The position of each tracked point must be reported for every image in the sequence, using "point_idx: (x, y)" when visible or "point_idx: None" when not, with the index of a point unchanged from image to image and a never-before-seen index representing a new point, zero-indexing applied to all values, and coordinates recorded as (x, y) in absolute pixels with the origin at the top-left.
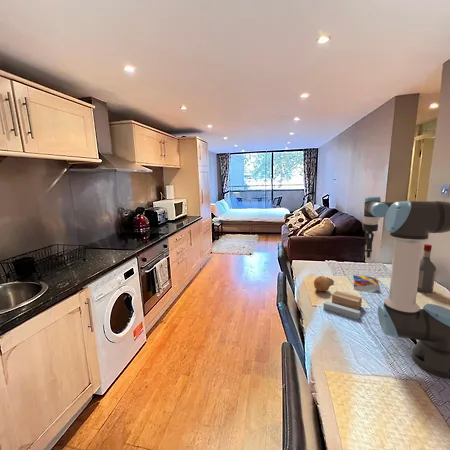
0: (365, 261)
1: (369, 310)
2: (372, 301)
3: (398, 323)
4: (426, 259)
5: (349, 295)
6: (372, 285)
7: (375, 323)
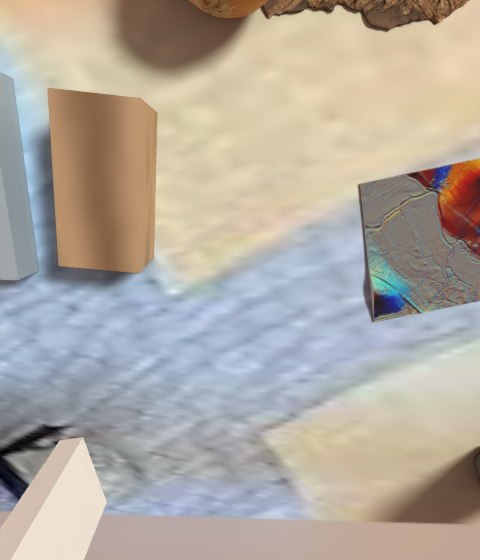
0: (48, 462)
1: (139, 297)
2: (251, 296)
3: None
4: None
5: (115, 201)
6: (472, 268)
7: (35, 334)
